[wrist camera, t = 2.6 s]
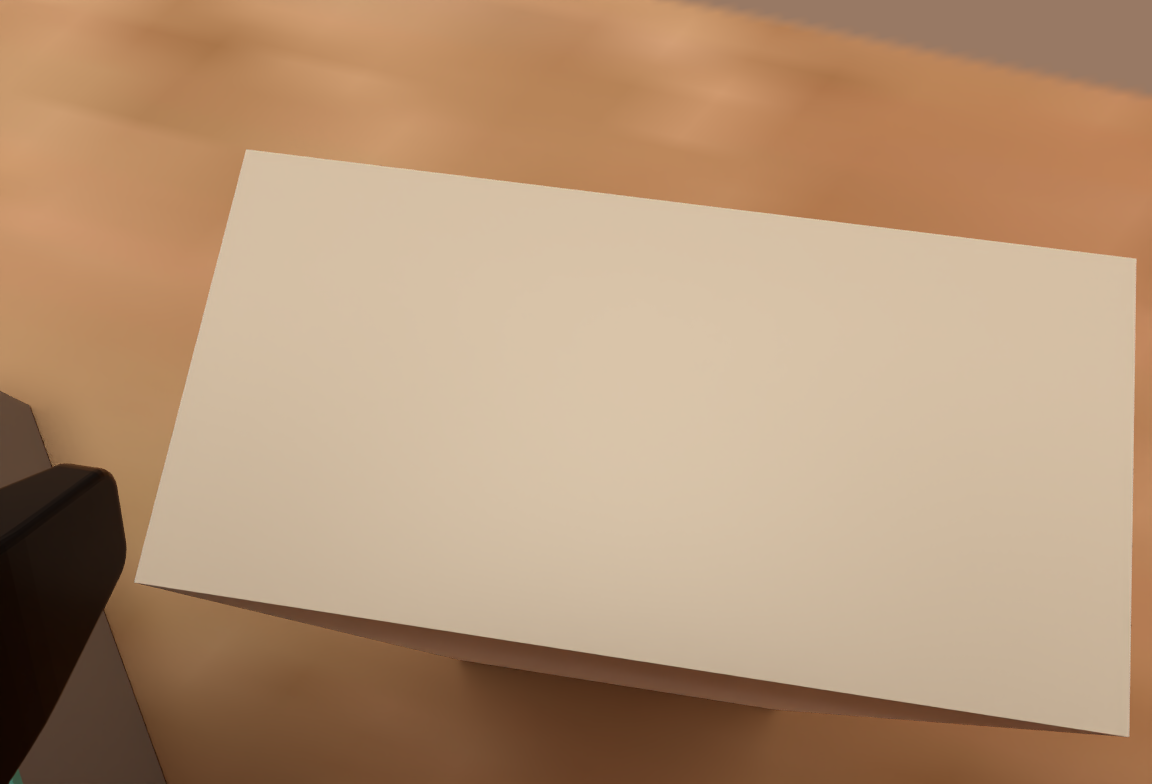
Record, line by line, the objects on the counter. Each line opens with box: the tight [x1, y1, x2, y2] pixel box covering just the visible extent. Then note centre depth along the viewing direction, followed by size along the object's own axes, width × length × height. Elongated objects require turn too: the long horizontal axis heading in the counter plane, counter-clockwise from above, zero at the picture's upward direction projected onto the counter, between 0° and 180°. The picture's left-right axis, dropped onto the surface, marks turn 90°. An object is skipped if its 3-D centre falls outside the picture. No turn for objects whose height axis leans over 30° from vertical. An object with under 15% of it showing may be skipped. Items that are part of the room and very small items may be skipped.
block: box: [134, 149, 1136, 737], centre depth 11 cm, size 2×5×12 cm, turn 81°
